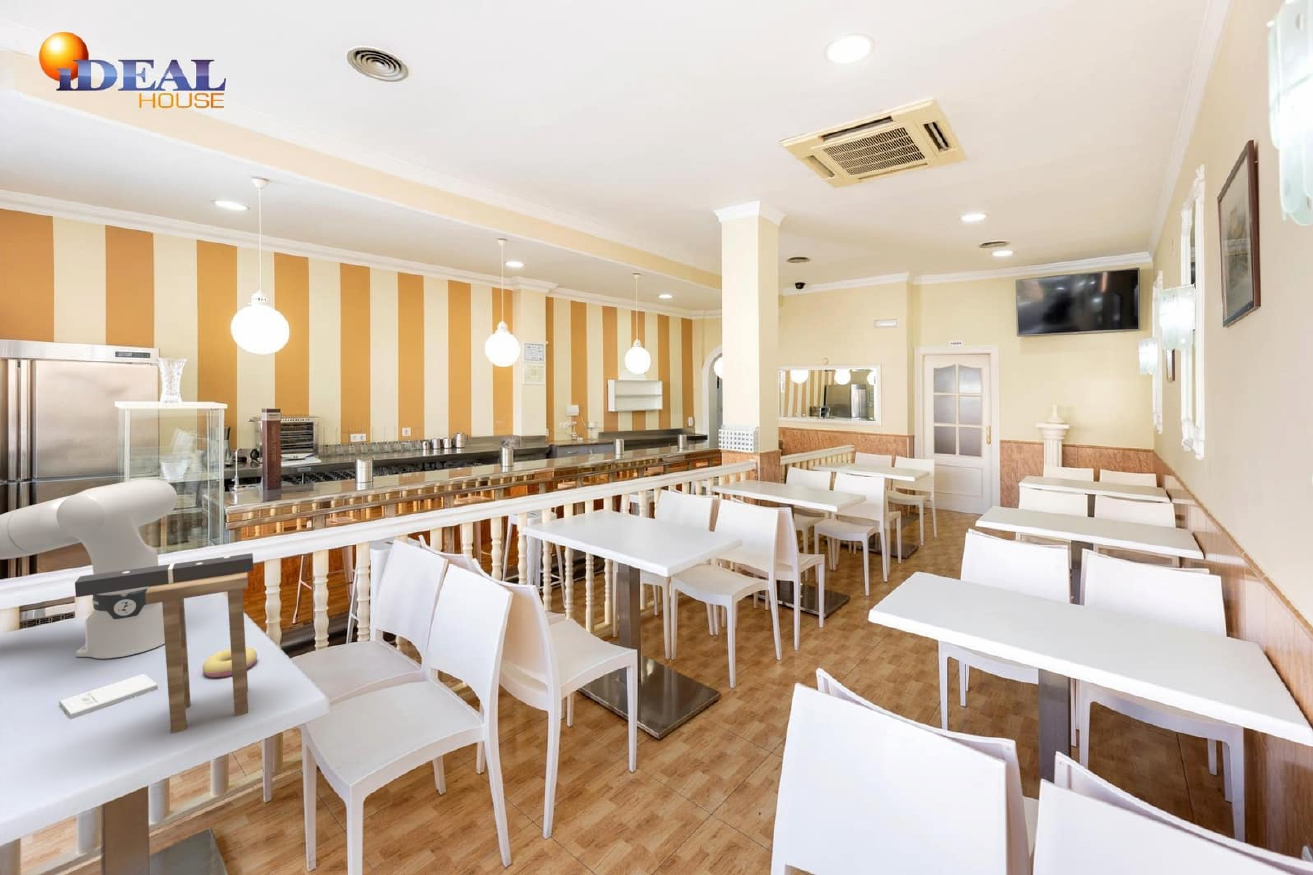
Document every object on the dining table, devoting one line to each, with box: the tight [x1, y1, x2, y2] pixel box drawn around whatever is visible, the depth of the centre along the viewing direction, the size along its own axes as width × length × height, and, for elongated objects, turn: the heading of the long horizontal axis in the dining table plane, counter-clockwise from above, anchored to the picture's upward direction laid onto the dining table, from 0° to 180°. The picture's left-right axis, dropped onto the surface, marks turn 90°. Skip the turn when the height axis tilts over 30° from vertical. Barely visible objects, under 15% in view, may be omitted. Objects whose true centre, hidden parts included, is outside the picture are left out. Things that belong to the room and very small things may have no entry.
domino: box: [74, 552, 255, 598], centre depth 101 cm, size 4×24×3 cm, turn 126°
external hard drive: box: [58, 673, 159, 720], centre depth 110 cm, size 2×8×12 cm
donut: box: [201, 646, 258, 678], centre depth 122 cm, size 10×5×9 cm
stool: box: [145, 571, 249, 734], centre depth 105 cm, size 12×14×26 cm
